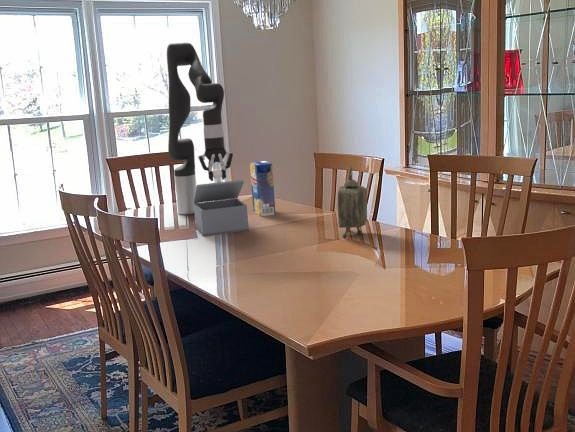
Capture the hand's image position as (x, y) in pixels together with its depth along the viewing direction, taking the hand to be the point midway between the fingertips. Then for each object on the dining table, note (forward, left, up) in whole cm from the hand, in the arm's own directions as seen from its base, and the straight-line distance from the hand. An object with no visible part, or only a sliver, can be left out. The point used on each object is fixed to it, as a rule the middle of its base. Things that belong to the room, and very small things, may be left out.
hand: (217, 179), depth 255 cm
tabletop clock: (+35, +42, -20) cm, 58 cm away
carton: (0, 0, -20) cm, 20 cm away
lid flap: (-1, 0, -5) cm, 5 cm away
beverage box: (-19, +23, -20) cm, 36 cm away
